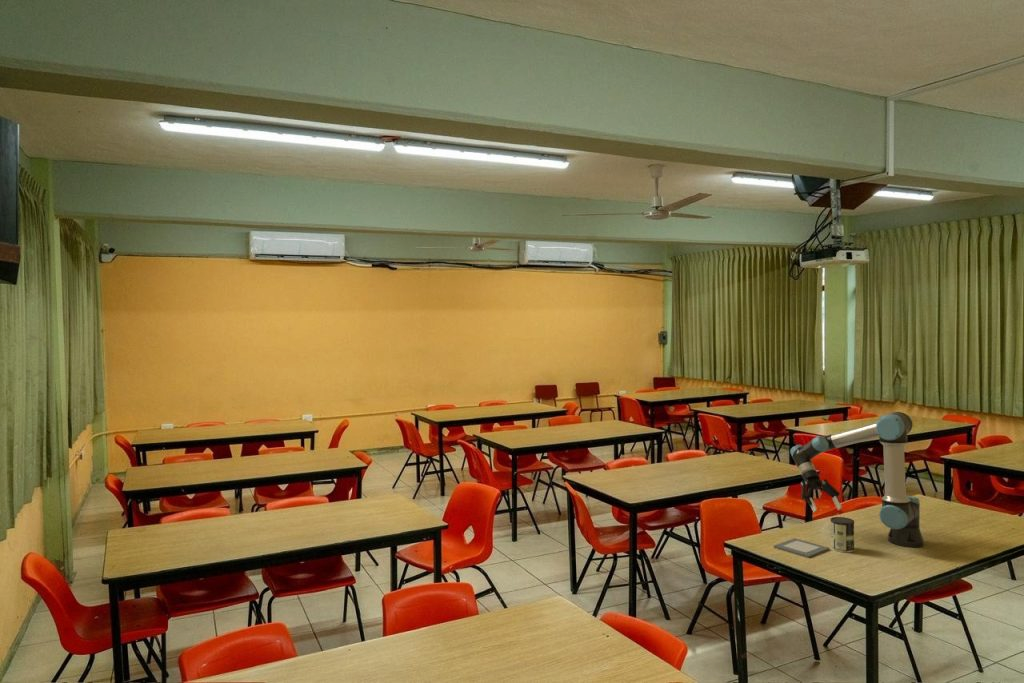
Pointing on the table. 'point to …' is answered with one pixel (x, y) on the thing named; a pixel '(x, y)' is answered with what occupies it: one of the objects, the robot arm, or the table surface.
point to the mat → (801, 547)
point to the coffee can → (842, 534)
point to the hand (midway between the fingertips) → (827, 509)
